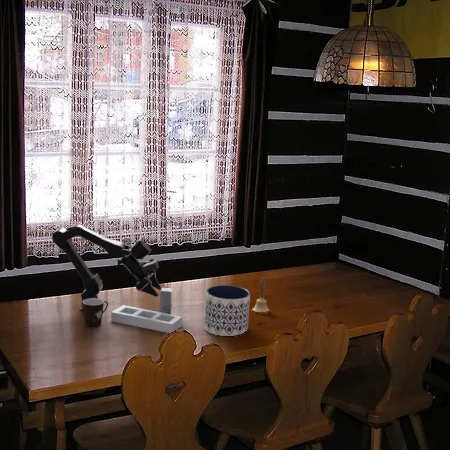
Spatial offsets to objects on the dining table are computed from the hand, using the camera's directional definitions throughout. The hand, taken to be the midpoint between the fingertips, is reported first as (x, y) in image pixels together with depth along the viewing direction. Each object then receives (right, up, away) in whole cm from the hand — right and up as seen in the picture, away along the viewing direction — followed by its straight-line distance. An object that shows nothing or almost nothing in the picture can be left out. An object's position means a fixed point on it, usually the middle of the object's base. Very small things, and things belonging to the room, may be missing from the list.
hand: (159, 292), depth 298 cm
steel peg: (+3, -10, +2) cm, 11 cm away
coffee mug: (-25, -12, -12) cm, 30 cm away
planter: (+29, -15, -9) cm, 33 cm away
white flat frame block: (-5, -12, -8) cm, 15 cm away
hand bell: (+44, -10, +15) cm, 48 cm away
